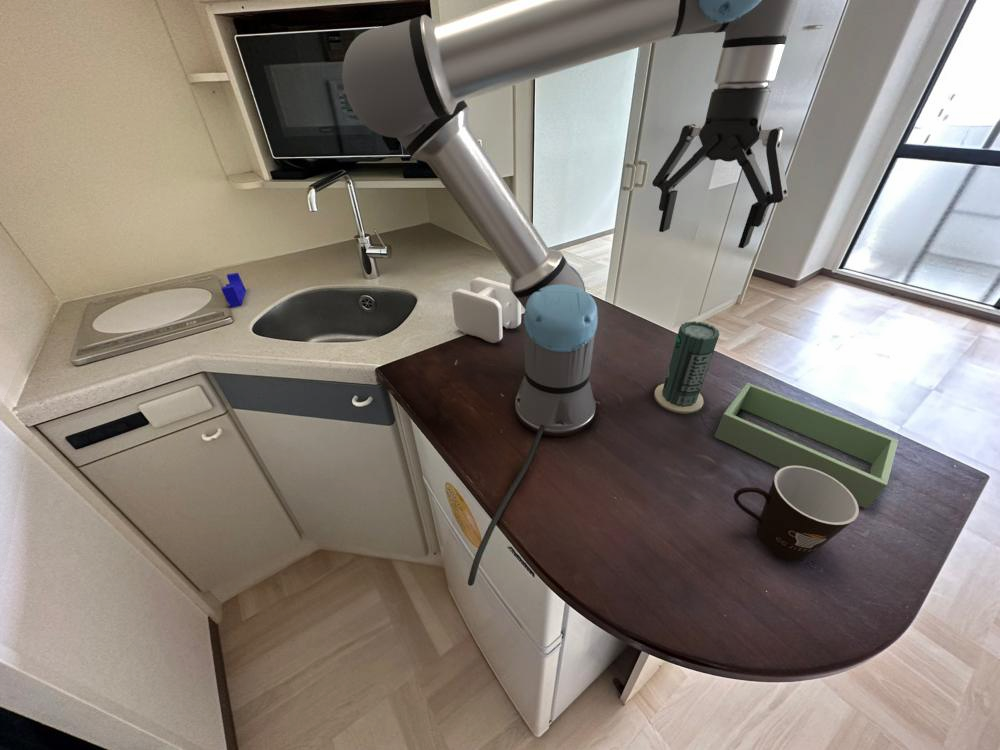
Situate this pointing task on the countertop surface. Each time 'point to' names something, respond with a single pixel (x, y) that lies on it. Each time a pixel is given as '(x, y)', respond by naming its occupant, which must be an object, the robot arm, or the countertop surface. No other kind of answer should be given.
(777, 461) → the box
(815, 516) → the coffee mug
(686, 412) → the coaster
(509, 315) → the cable organizer
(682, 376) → the can
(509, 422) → the countertop surface
